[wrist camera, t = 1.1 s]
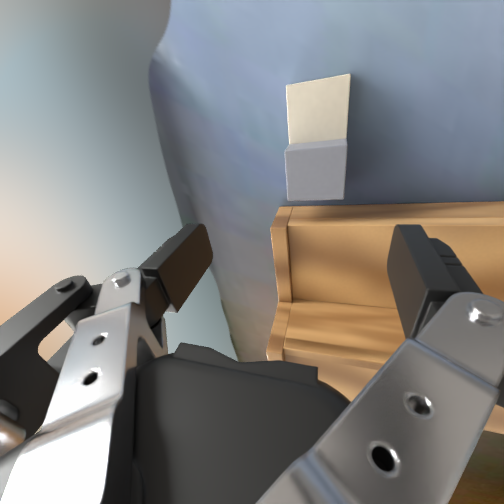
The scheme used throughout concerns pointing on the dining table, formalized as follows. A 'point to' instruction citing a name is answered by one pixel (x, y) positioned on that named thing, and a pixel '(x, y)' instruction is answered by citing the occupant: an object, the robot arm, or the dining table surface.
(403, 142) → the dining table surface
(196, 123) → the dining table surface
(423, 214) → the stepped wooden ledge
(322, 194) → the block chair shape
